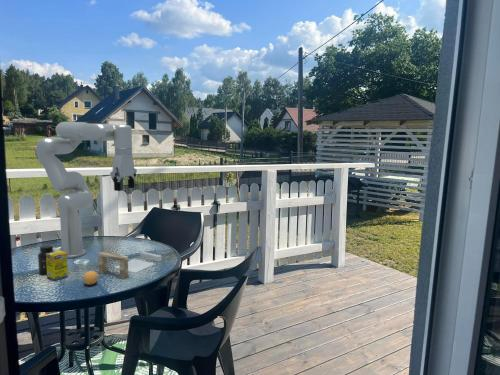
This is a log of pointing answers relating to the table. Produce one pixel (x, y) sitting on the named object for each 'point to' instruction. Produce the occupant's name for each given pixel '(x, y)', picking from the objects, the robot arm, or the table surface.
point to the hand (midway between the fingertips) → (124, 189)
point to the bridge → (122, 259)
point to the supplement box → (56, 265)
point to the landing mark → (137, 265)
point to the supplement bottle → (43, 258)
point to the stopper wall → (151, 256)
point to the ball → (90, 277)
